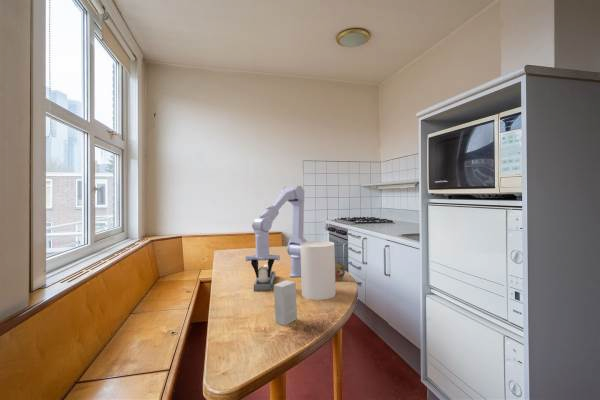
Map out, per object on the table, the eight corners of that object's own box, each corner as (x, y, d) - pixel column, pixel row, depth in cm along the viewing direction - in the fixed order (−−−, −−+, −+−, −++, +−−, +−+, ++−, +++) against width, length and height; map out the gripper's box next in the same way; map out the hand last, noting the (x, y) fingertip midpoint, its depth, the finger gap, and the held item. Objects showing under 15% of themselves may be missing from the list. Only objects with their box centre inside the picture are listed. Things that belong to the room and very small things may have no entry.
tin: (312, 280, 133) (311, 261, 133) (313, 278, 136) (313, 260, 136) (344, 282, 129) (344, 263, 129) (345, 280, 132) (345, 261, 132)
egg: (269, 279, 125) (268, 265, 125) (268, 282, 121) (267, 267, 121) (259, 279, 125) (258, 265, 125) (257, 282, 121) (257, 268, 121)
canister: (334, 300, 106) (332, 246, 106) (298, 299, 109) (297, 246, 109) (336, 288, 120) (335, 241, 119) (305, 287, 122) (303, 240, 122)
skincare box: (287, 316, 94) (286, 279, 94) (297, 319, 91) (296, 281, 91) (274, 322, 89) (273, 284, 89) (284, 326, 87) (283, 287, 86)
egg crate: (275, 276, 141) (275, 262, 141) (271, 290, 120) (271, 274, 120) (260, 276, 141) (260, 262, 141) (253, 290, 120) (253, 274, 120)
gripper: (243, 247, 119) (244, 280, 119) (278, 246, 119) (279, 279, 119) (246, 244, 126) (247, 275, 126) (279, 243, 126) (280, 274, 126)
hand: (263, 277), depth 123 cm, fingers closed on egg, 4 cm apart
